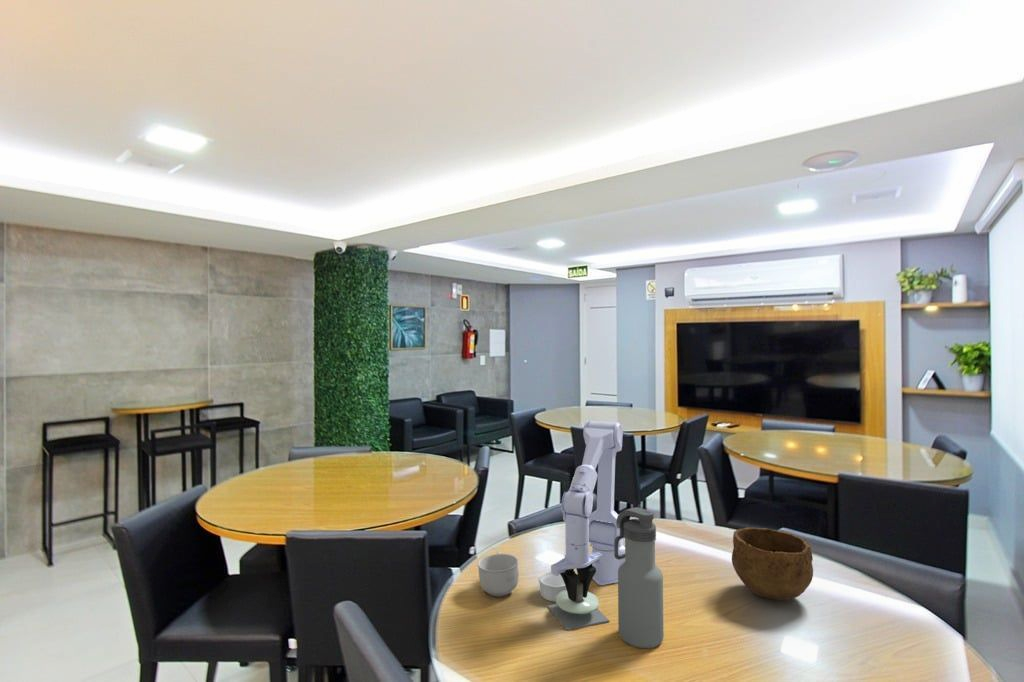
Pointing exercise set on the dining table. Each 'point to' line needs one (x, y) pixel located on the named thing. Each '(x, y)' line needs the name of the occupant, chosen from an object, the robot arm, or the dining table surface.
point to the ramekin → (551, 585)
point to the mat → (578, 618)
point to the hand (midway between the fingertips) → (577, 597)
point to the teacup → (498, 573)
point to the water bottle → (639, 581)
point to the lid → (577, 601)
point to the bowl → (772, 562)
